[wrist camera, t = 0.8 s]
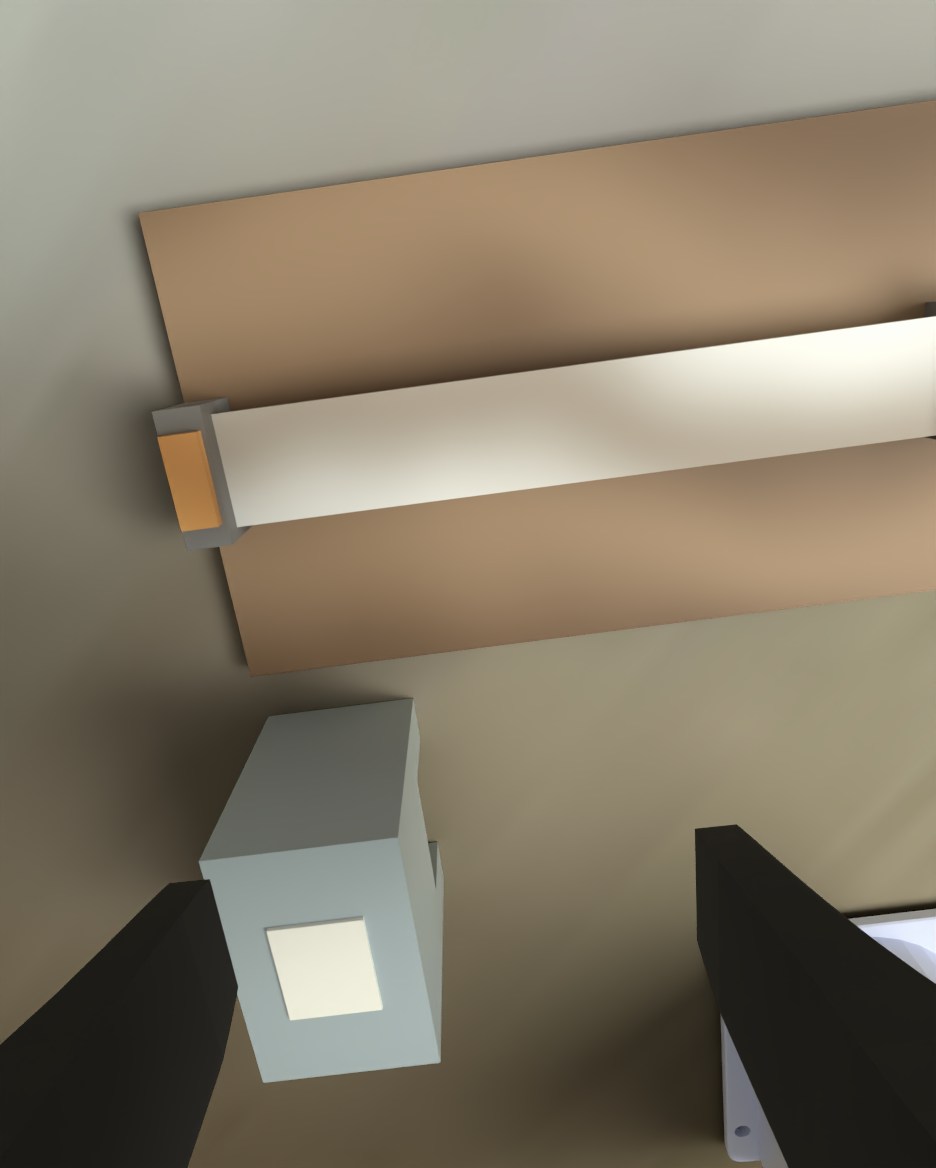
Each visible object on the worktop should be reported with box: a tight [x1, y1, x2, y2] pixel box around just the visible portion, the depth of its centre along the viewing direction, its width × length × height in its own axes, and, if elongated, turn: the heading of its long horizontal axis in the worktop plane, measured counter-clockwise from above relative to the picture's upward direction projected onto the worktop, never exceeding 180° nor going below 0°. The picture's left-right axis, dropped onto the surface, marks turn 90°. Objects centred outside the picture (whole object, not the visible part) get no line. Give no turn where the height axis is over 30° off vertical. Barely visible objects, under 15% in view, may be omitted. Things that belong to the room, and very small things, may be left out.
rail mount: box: [138, 100, 936, 677], centre depth 17 cm, size 11×18×3 cm, turn 97°
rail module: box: [199, 698, 444, 1083], centre depth 19 cm, size 6×4×6 cm, turn 7°
